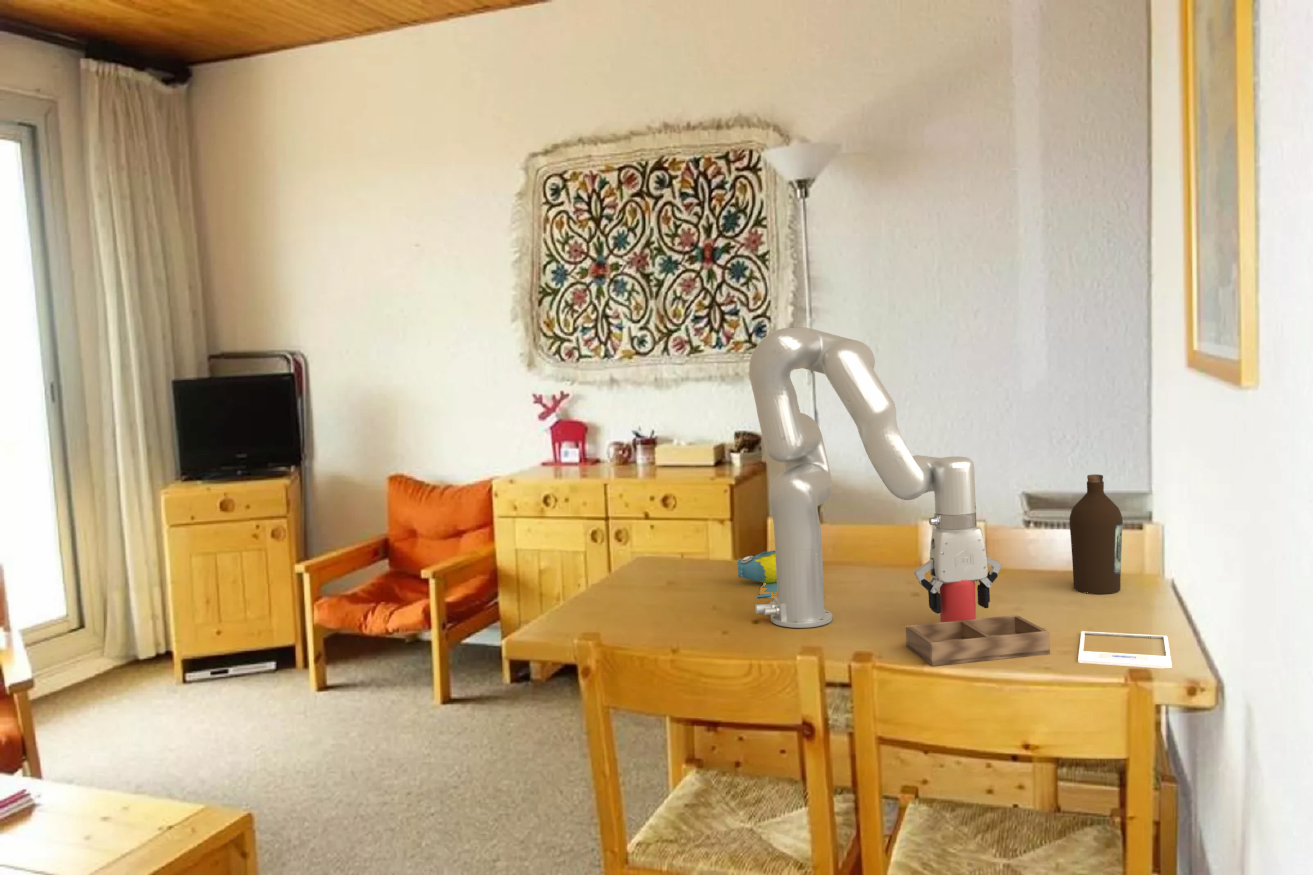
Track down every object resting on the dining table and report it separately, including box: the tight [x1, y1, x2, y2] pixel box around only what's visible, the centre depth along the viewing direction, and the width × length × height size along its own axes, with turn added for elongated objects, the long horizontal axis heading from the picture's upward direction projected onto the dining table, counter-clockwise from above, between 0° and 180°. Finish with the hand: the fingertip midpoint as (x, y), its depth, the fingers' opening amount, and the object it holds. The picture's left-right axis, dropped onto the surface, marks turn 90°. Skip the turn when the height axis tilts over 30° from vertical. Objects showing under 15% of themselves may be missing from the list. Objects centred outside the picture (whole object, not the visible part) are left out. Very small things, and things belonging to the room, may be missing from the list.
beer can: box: [939, 580, 977, 623], centre depth 205 cm, size 7×7×12 cm
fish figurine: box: [736, 549, 777, 598], centre depth 253 cm, size 28×9×15 cm
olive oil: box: [1069, 473, 1124, 595], centre depth 230 cm, size 11×11×25 cm
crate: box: [905, 614, 1051, 667], centre depth 194 cm, size 22×12×4 cm, turn 99°
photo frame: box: [1077, 630, 1173, 669], centre depth 189 cm, size 15×1×18 cm
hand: (959, 609), depth 205 cm, fingers open, 9 cm apart
